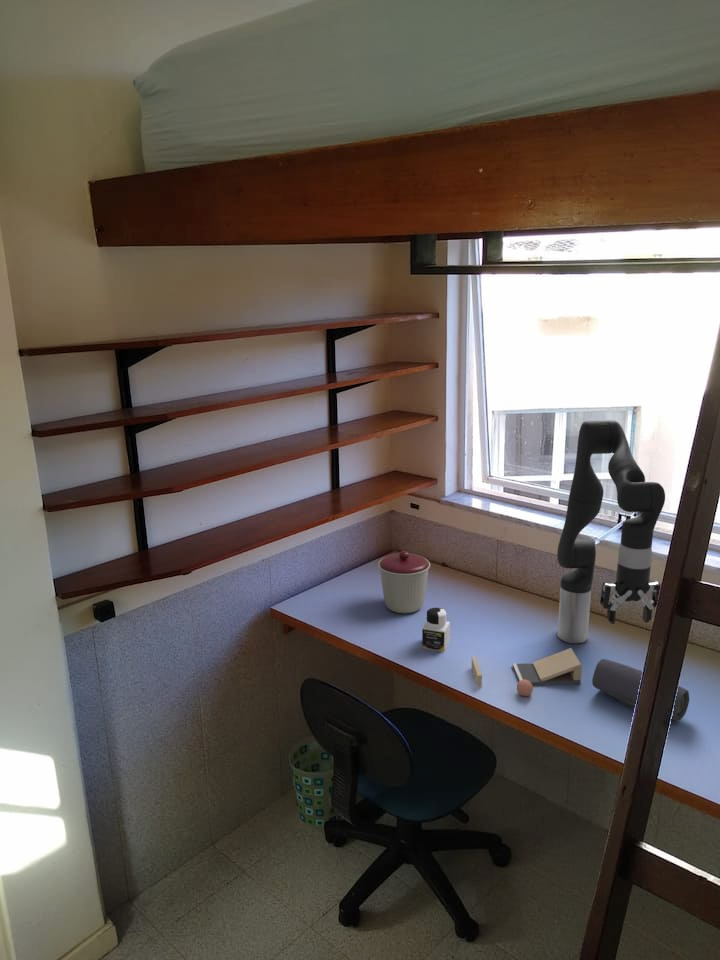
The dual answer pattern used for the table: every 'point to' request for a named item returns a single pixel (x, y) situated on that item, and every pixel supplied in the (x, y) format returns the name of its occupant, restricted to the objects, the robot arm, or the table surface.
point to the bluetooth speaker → (630, 685)
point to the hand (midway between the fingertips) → (628, 621)
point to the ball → (524, 687)
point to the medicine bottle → (436, 630)
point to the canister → (404, 581)
